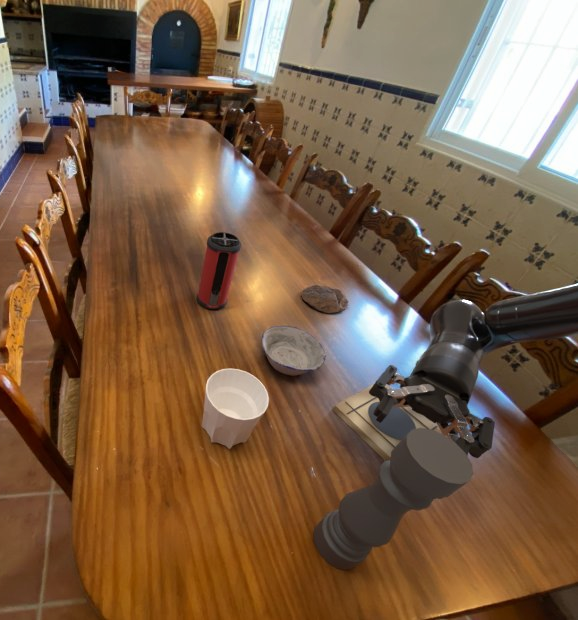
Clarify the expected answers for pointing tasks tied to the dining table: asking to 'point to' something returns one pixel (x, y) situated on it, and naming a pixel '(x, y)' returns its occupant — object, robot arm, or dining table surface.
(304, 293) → the rock
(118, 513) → the dining table surface
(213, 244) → the speaker
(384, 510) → the candle holder
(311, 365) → the bowl
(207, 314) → the dining table surface
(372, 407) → the board
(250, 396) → the cup
